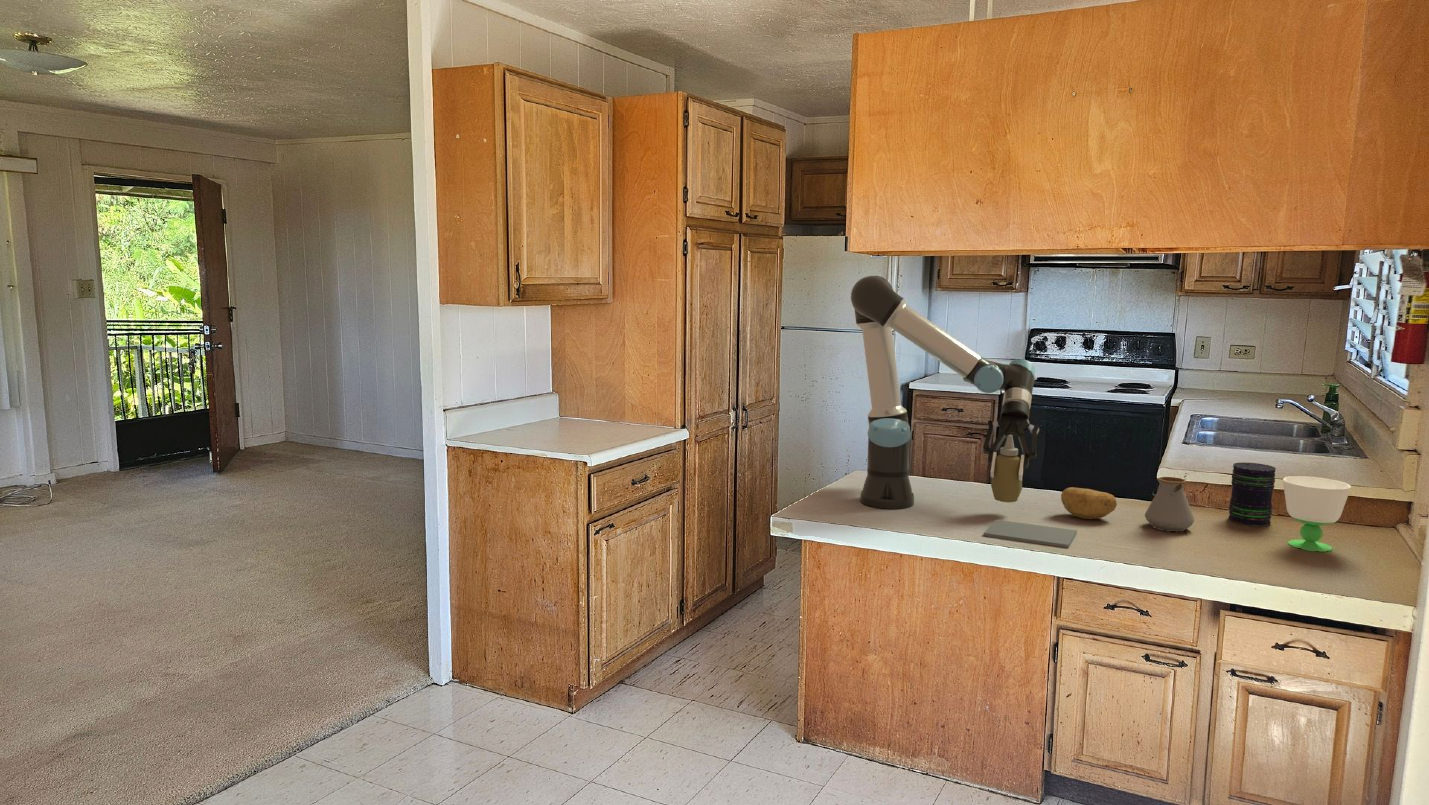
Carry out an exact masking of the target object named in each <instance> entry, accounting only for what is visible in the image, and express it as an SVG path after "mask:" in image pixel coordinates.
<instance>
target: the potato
mask: <svg viewBox="0 0 1429 805" xmlns="http://www.w3.org/2000/svg"><path fill="white" fill-rule="evenodd" d="M1060 500H1061V503H1062V505H1063V507H1064V509H1065V510H1066V511H1067V512H1068V513H1070V514H1071V515H1072V516H1075V517H1077V518H1080V519H1083V520H1093V519H1101V518H1104V517H1107V516H1108V515H1109V514H1111V513H1112V512H1114V511H1115V509H1116V508H1117V505H1118V503H1117V498H1116V497H1115V496H1114V495H1113V494H1111V493H1109V492H1104V491H1099V490H1095V489H1092V488H1091V489H1090V488H1082V487H1073V486H1072V487H1067V488H1065V489H1064V490H1062V492H1061V495H1060Z"/></svg>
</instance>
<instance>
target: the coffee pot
mask: <svg viewBox="0 0 1429 805" xmlns="http://www.w3.org/2000/svg"><path fill="white" fill-rule="evenodd" d="M1156 480H1157V481H1158V483H1159V485H1160V486H1159V489H1158V490H1157V492H1156V494H1155V495H1154V497H1153V499H1152V500H1151V503H1150V504H1149V506H1148V507H1147V509H1146V511H1145V513H1144V518H1145V520H1146V521H1147V522H1148V523H1149V524H1150V525H1151V527H1152V528H1154V527H1155V528H1154V529H1156V528H1157V529H1156V530H1159V531H1163V530H1167V531H1166V532H1169V531H1176V532H1175V533H1178V532H1177V531H1182V532H1184V530H1185V531H1186V529H1189V528H1191V526H1192V525H1193V524H1194V522H1195V517H1194V514H1193V512H1192V509H1191V507H1190V504H1189V501H1188V498H1187V496H1186V493H1185V491H1186V488H1185V486H1184V485H1185V484H1186V483H1187V480H1186V479H1185V478H1181V477H1174V476H1160V477H1158V478H1156Z"/></svg>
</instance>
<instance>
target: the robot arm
mask: <svg viewBox="0 0 1429 805" xmlns="http://www.w3.org/2000/svg"><path fill="white" fill-rule="evenodd" d="M850 302H851V305H852V307H853V309H854V318H855V325H856V326H858V328H860V329H861V331H862V338H863V348H864V354H865V363H866V372H867V379H868V380H867V381H868V388H869V395H870V404H871V410H870V411H869V412H868V413H867V420H868V421H867V423H868V429H867V437H868V441H867V468H866V469H867V472H866V477H865V480H864V484H863V487H862V490H861V492H860V500H859V501H860V503H861V504H863V505H864V506H868V507H872V508H877V509H888V510H894V509H895V510H896V509H897V510H898V509H899V510H900V509H906V508H911V507H912V506H914V504H915V494H914V492H913V489H912V485H911V484H912V483H911V480H910V477H909V475H910V471H909V470H910V450H911V449H910V445H911V439H912V433H911V432H912V431H911V426H910V424H909V418H908V411H907V409H906V408H905V407H903V405H901V395H900V386H899V377H898V370H897V360H896V352H895V343H894V337H893V336H894V335H893V330H894V331H895V332H897V333H898V334H900V335H901V336H902V337H904V338H905V339H906V340H908V341H910V342H911V343H913V344H914V345H915V346H918V348H920V349H922V350H923V351H925V352H926V353H927V354H929V355H930V356H931V357H933V358H935V359H936V360H937V361H939V362H940V363H942V364H943V365H945V366H946V367H947V368H949V369H950V370H952V371H953V372H955V373H956V374H958V375H959V376H960V377H962V380H963V381H964V382H965V383H969V384H971V385H973V386H975V387H976V388H977V390H978V391H980V392H981V393H985V394H991V393H992V394H993V393H996V392H997V391H1004V393H1003V398H1002V406H1001V410H1000V411H1001V412H1000V416H999V418H998V420H997V421H993V420H991V419H990V420H988V421H987V427H988V428H987V432H986V436H985V439H984V443H983V446H982V448H983V449H982V450H983V454H984V455H988V460H987V465H988V466H990V467H991V468H990V478H992V477H993V478H994V472H995V462H996V457H997V456H998V455H997V454H998V453H997V452H998V451H999V450H1000V448H1001V446H1002V444H1003V442H1004V440H1007V436H1008V435H1012V436H1013V438H1014V437H1015V438H1018V441H1019V444H1020V447H1021V451H1022V454H1021V456H1020V458H1021V462H1020V469H1019V480H1021V481H1022V482H1023V474H1024V470H1027V469H1028V468H1029V464H1030V463H1029V462H1030V460H1031V459H1033V460H1035V459H1037V452H1038V450H1037V448H1038V447H1037V442H1038V441H1037V440H1038V438H1037V437H1038V436H1039V435H1038V434H1039V433H1040V425H1039V424H1032V423H1030V420H1029V419H1030V413H1031V404H1032V397H1033V391H1034V383H1035V379H1036V378H1035V375H1036V374H1035V372H1036V370H1035V366H1034V364H1033V363H1032V362H1031V361H1029V360H1028V359H1027V360H1026V359H1023V358H1021V359H1013V360H1012V361H1010V362H1009V364H1006V363H999V362H996V361H991V360H987V359H986V358H984V357H983V356H981V355H980V354H979V353H977V352H976V351H974V350H972V349H971V348H970V347H968V346H967V345H965V344H964V343H962V342H960V340H959V339H957V338H955V337H954V336H953V335H951V334H950V333H948V332H947V331H945V330H943V329H942V328H940V327H939V326H938V325H936V324H935V323H934V322H932V321H930V320H929V319H928V318H926V317H925V316H923V315H922V314H921V313H919V312H917V311H916V310H914V309H913V308H911V306H909V305H907V304H906V300H905V298H904V297H902V296H901V295H900V294H898V292H896V291H895V290H894V289H893V286H892V285H891V283H890V282H889V281H888V280H887V279H886V278H884V277H882V276H879V275H868V276H864V277H862V278H860V279H858V280H857V281H856V283H854V285H853V287H852V289H851V292H850ZM997 427H998V428H999V430H1000V431H999V434H997V435H998V436H997V437H996V438H995V439H994V442H993V444H992V440H993V436H994V431H995V430H996V429H997ZM1028 430H1029V432H1030V434H1031V451H1030V450H1029V448H1028V444H1027V441H1026V437H1025V434H1024V433H1026V431H1028ZM991 444H992V445H991Z"/></svg>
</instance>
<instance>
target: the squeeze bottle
mask: <svg viewBox="0 0 1429 805" xmlns="http://www.w3.org/2000/svg"><path fill="white" fill-rule="evenodd" d="M1005 440H1006V441H1005V443H1004V446H1002V447H1001V446H1000V447H999V454H998V455H997V457H996V462H995V472H994V478H993V477H991V478H992V479H991V485H990V486H991V491H992V494H993V499H994V500H995V501H998V502H1002V503H1016V502H1017V501H1018V500H1019V497H1020V494H1021V492H1022V490H1023V480H1022V481H1021V480H1019V469H1020V462H1021V456H1018V455H1019V449H1018V448H1017V447H1015V444H1014V436H1012V435H1008V436H1007V437H1006V439H1005Z"/></svg>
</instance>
